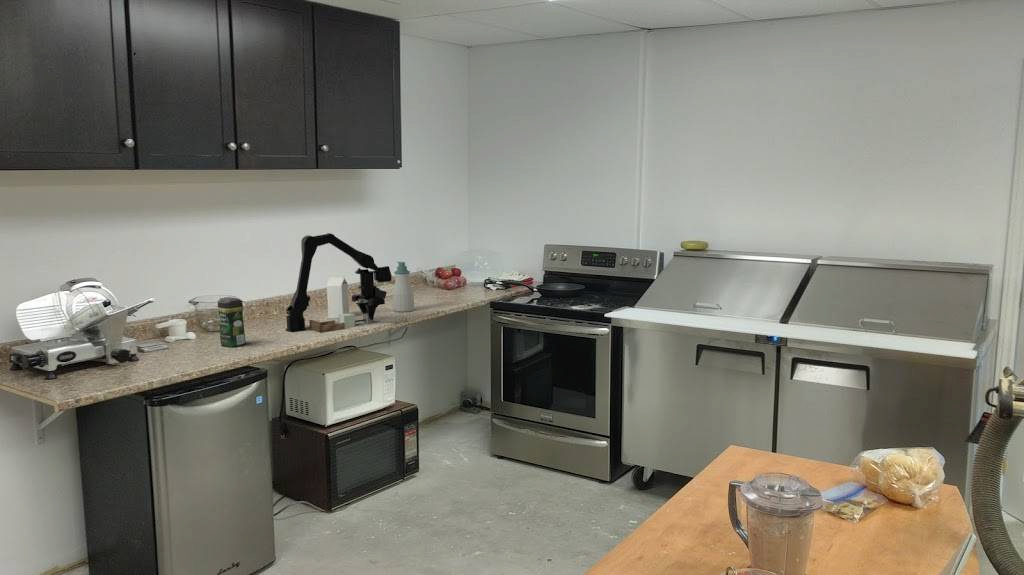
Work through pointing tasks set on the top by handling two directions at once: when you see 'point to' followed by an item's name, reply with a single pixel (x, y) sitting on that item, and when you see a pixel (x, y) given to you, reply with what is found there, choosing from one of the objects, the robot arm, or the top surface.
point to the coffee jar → (231, 322)
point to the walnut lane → (325, 326)
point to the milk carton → (337, 296)
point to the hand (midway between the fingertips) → (369, 319)
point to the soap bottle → (402, 290)
